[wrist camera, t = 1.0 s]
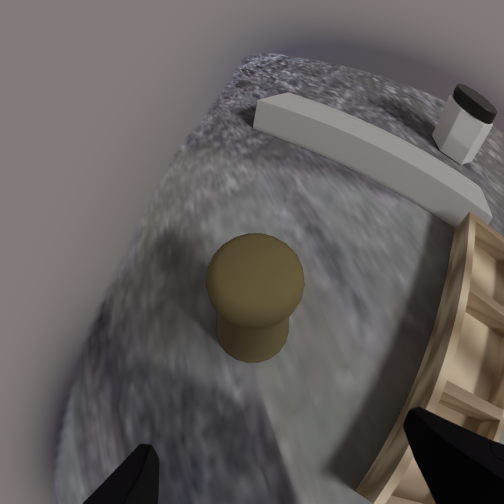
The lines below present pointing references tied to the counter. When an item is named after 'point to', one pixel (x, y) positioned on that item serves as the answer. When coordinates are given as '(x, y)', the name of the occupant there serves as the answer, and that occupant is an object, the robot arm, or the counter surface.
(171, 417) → the counter surface
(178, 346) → the counter surface
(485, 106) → the jar
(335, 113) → the decorative molding
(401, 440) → the spice rack
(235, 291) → the olive pepper mill
